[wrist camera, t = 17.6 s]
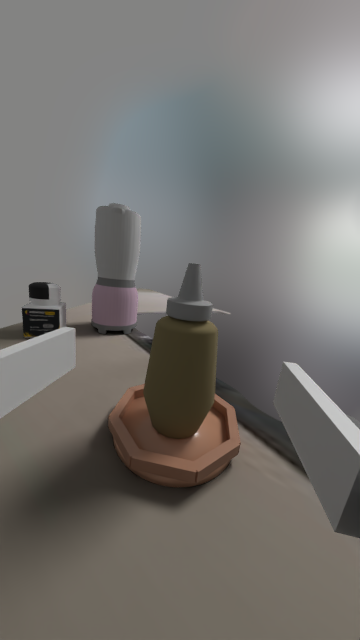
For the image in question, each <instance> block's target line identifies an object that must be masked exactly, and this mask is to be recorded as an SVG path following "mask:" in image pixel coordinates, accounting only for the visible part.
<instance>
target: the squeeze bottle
mask: <svg viewBox="0 0 360 640" xmlns="http://www.w3.org/2000/svg"><path fill="white" fill-rule="evenodd" d="M212 307H213V305H212V303H210V302H208V301H204V300H203V292H202V278H201V265H200V264H190V263H189V265H188V268H187V271H186V274H185V277H184V280H183V283H182V286H181V289H180V292H179V295H178V297H172V298H169V299H168V300H167V310H166V314H167V315H168V316H166V317H163V318H161V319H160V320H159V321H158V322H157V323H156V327H155V333H154V338H153V343H152V348H151V353H150V359H149V364H148V369H147V374H146V380H145V385H144V390H143V395H144V398H145V402H146V405H147V409H148V412H149V416H150V419H151V423H152V426H153V427H154V428H155V430H156V431H157V432H158V433H160V434H162V435H164V436H166V437H168V438H175V439H182V438H187V437H190V436H192V435H193V434H195V433H197V431H198V429H199V428H200V426H201V424H202V423H203V421H204V419H205V417H206V416H207V414H208V412H209V411H210V409H211V407H212V405H213V404H214V397H215V379H216V360H217V340H218V330H217V328H216V326H215V325H214V324H213V323H211V322H210V321H208V320H209V319H211V313H212Z"/></svg>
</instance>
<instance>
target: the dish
mask: <svg viewBox="0 0 360 640" xmlns="http://www.w3.org/2000/svg"><path fill="white" fill-rule="evenodd" d="M144 385H145V384H142V385H139V386H135V387H131V388H129V389H128V390H127V391H126V392H125V394H124V395H123V397H122V398H121V399H120V401H119V402H118V404H117V405H116V406H115V408H114V409H113V411H112V412H111V413H110V415H109V417H108V428H109V430H110V432H111V433H112V435H113V442H114V447H115V449H116V452H117V454H118V456H119V457H120V459H121V461H122V462H123V463H124V464H125V465H126V467H128V468H129V469H130V470H131V471H132V472H133V473H135V474H136V475H138V476H139V477H141V478H143V479H145V480H147V481H149V482H152V483H155V484H158V485H162V486H168V487H192V486H196V485H200V484H203V483H205V482H208V481H210V480H212V479H213V478H215V477H217V476H218V475H219V474H220V473H222V472H223V471H224V469H225V468H226V467H227V466H228V464H229V462H230V461H231V459H232V458H233V457H235V456H236V455H238V453H239V448H240V444H241V443H240V437H239V431H238V426H237V420H236V414H235V409H234V407H232V406H231V405H230V404H228V403H227V402H226V401H224V400H223V399H221V398H220V397H219V396H217V395H216V394H215V397H214V404H213V405H212V407H211V409H210V411H209V412H208V414H207V416H206V417H205V419H204V421H203V423H202V424H201V426H200V428H199V429H198V431H197V433H195V434H193V435H192V436H190V437H187V438H182V439H175V438H168V437H166V436H164V435H162V434H160V433H158V432H157V431H156V430H155V428H154V427H153V426H152V423H151V419H150V416H149V412H148V409H147V405H146V402H145V398H144V395H143V390H144Z"/></svg>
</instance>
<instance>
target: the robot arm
mask: <svg viewBox="0 0 360 640" xmlns="http://www.w3.org/2000/svg"><path fill="white" fill-rule="evenodd" d="M74 367H76V350H75V328H70V327H62V328H60V329H57V330H54V331H51V332H49V333H46V334H43V335H40V336H37V337H35V338H32V339H29V340H26V341H24V342H21V343H18V344H15V345H13V346H10V347H7V348H4V349H2V350H0V418H1V417H3V416H4V415H6V414H7V413H9V412H10V411H12V410H13V409H15V408H16V407H18V406H19V405H20V404H22V403H23V402H25V401H26V400H28V399H29V398H31V397H32V396H34V395H35V394H37V393H38V392H39V391H41V390H42V389H44V388H45V387H47V386H48V385H50V384H51V383H53V382H54V381H55V380H57V379H58V378H60V377H61V376H63V375H64V374H66V373H67V372H69V371H70V370H72V369H73V368H74ZM273 404H274V406H275V408H276V410H277V412H278V414H279V416H280V418H281V420H282V423H283V425H284V427H285V429H286V431H287V433H288V435H289V437H290V439H291V441H292V444H293V446H294V448H295V450H296V452H297V454H298V456H299V458H300V460H301V462H302V464H303V467H304V469H305V471H306V473H307V475H308V477H309V479H310V481H311V483H312V485H313V487H314V490H315V492H316V494H317V496H318V498H319V500H320V502H321V504H322V506H323V508H324V510H325V513H326V515H327V517H328V519H329V521H330V523H331V525H332V527H333V529H334V531H335V532H337V533H341V534H345V535H349V536H353V537H358V538H360V422H358V421H357V420H356V419H354V418H353V417H351V416H349V415H345V414H344V413H343V412H342V411H341V409H340V408H339V407H338V406H337V405H336V404H335V403H334V402H333V401H332V400H331V399H330V398H329V397H328V396H327V395H326V394H325V393H324V392H323V391H322V390H321V388H320V387H319V386H318V385H317V384H316V383H315V382H314V381H313V380H312V379H311V378H310V377H309V376H308V375H307V374H306V373H305V372H304V371H303V370H302V369H301V367H300V366H298V364H295V363H289V362H283V365H282V369H281V373H280V377H279V381H278V385H277V389H276V393H275V397H274V401H273Z"/></svg>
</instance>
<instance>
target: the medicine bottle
mask: <svg viewBox="0 0 360 640" xmlns="http://www.w3.org/2000/svg"><path fill="white" fill-rule="evenodd" d="M60 296H61V294H60V286H59V285H57V284H54V283H46V282H36V283H32V284H30V285H29V298H30V301H31V303H29V304H27V305H24V306H23V307H22V316H23V332H24V337H25V338H35V337H37V336H40V335H43V334H46V333H49V332H51V331H54V330H57V329H60V328H62V327H66V303H64V302H60V301H61V299H60Z"/></svg>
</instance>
